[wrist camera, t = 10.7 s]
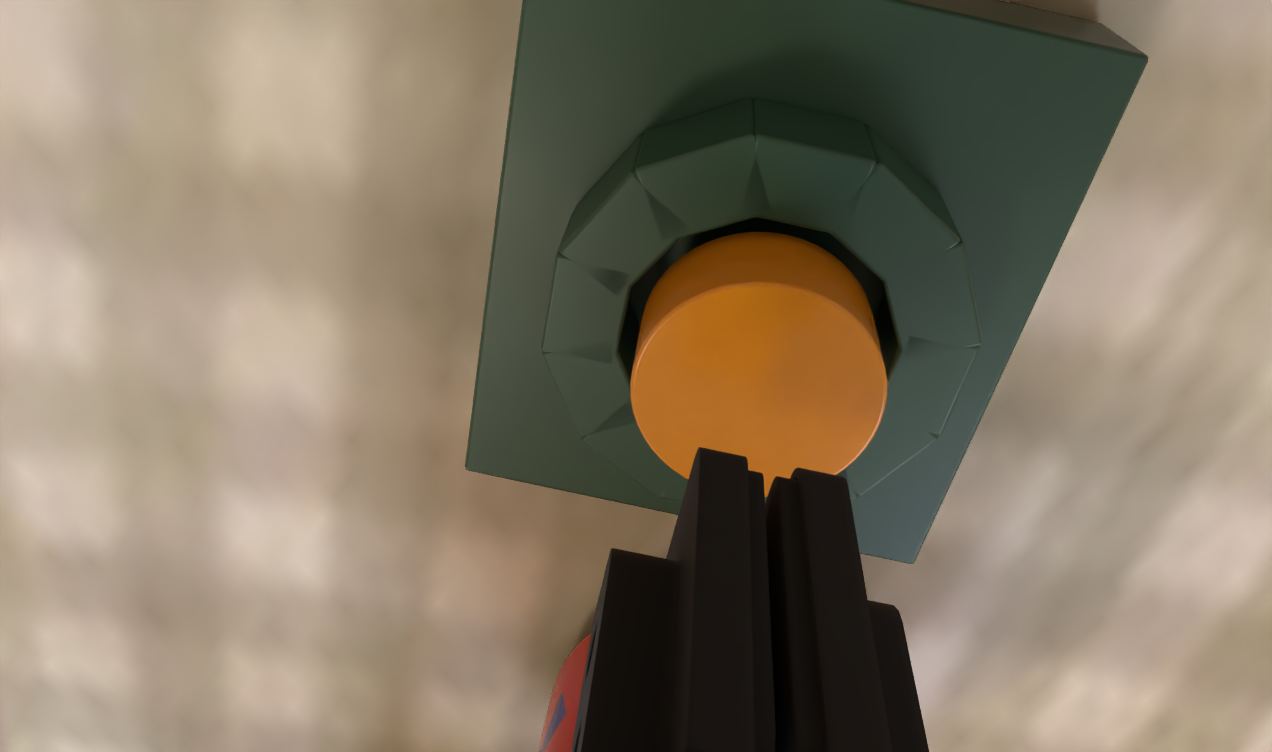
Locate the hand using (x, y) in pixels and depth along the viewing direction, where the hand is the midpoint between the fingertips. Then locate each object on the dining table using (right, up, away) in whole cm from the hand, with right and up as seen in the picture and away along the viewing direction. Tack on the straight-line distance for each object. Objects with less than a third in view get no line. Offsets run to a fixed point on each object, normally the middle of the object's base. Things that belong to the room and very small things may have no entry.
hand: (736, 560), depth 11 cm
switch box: (+1, +5, +7) cm, 9 cm away
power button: (+1, +3, +4) cm, 5 cm away
